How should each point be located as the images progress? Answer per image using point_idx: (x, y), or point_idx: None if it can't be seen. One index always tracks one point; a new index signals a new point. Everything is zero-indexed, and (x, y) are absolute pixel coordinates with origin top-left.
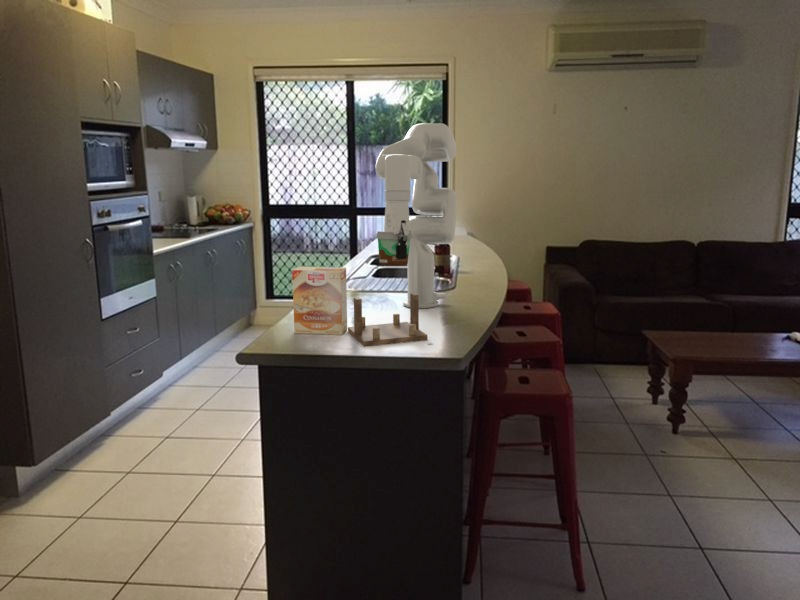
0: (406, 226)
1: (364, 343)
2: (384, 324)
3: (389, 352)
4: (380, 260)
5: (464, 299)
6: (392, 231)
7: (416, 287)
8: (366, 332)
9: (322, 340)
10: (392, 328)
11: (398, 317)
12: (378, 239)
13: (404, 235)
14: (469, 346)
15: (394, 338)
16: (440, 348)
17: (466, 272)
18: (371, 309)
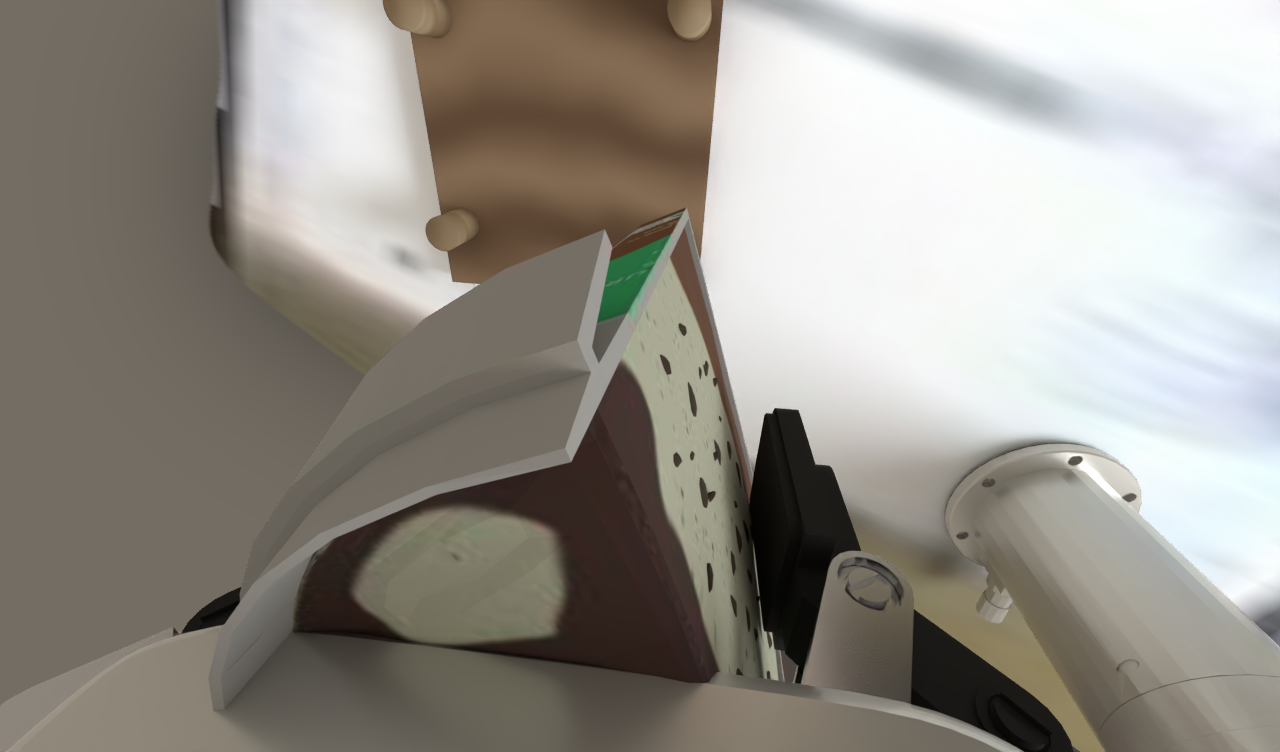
0: None
1: None
2: (694, 174)
3: (300, 33)
4: (658, 222)
5: (987, 654)
6: (180, 735)
7: (1057, 545)
8: (568, 3)
9: None
10: (601, 182)
11: None
12: (609, 303)
13: (23, 693)
14: (361, 365)
15: (425, 117)
16: (345, 268)
17: None
18: (1159, 274)
